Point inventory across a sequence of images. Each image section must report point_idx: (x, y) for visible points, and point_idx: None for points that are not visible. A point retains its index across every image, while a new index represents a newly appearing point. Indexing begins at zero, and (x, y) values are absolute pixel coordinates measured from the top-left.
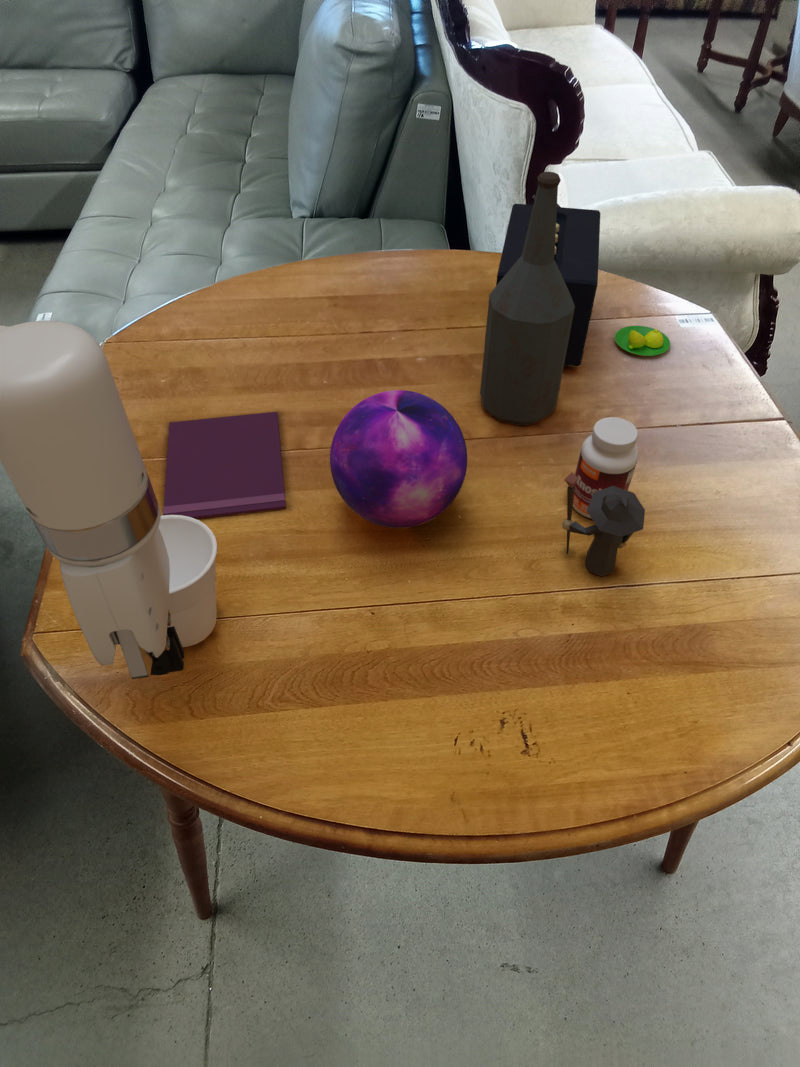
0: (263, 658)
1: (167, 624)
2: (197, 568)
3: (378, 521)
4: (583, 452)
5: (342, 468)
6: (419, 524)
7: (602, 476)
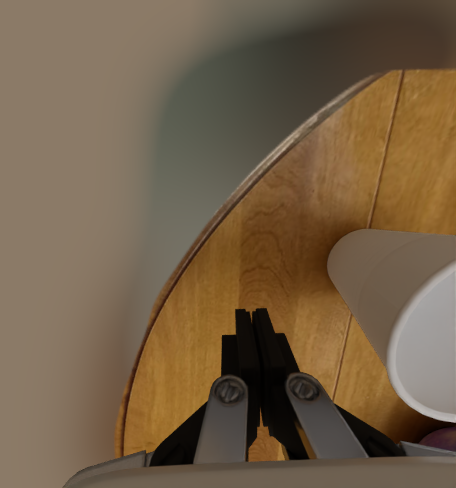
0: (296, 330)
1: (282, 447)
2: (433, 306)
3: None
4: None
5: None
6: None
7: None
